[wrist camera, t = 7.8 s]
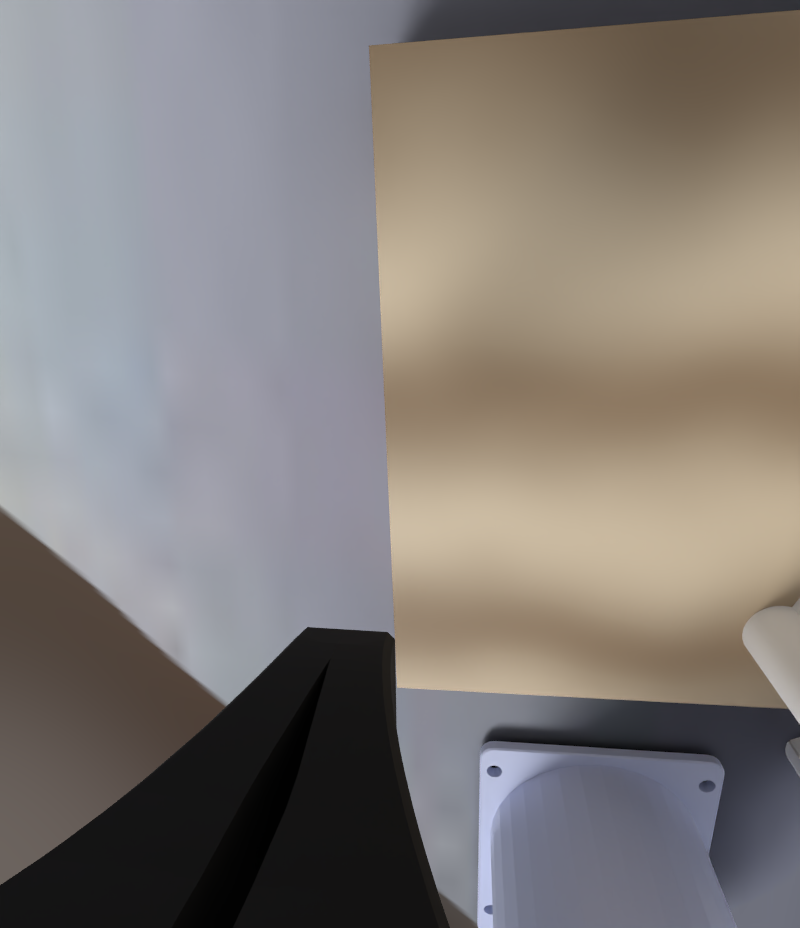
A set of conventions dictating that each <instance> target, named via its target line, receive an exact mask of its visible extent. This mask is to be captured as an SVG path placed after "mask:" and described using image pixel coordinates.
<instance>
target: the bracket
mask: <svg viewBox="0 0 800 928" xmlns="http://www.w3.org/2000/svg"><path fill="white" fill-rule="evenodd" d="M742 639H743V643H744V645H745V647H746V648H747V650H748V651H749V653H750V654H751V655H752V657H753V658H754V660H755V661H756V663H757V664H758V665H759V667H760V668H761V670H762V671H763V673H764V674H765V675H766V677H767V678H768V680H769V681H770V683H771V684H772V685H773V687H774V688H775V690H776V691H777V693H778V694H779V695H780V697H781V698H782V700H783V701H784V703H785V704H786V705H787V707H788V708H789V710H790V711H791V713H792V714H793V715H794V717H795V718H796V720H797V721H798V723H799V724H800V598H799V599H798V600H797V602H796V603H795V604H794V605H793V607H788V606H773V607H769V608H765V609H763V610H761V611H759V612H757V613H756V614H754V615H753V616H752V617H751V618H750V619H749V620H748V621H747V623H746V624H745V626H744V629H743V633H742ZM789 741H790V742H787V744H786V747H785V753H786V756H787V758H788V760H789V761H790V763H791V764H792V766H793V768H794V769H795V771H796V772H797V774H798V776H799V777H800V737H798V738H795V739H792V740H789Z"/></svg>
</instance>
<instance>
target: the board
mask: <svg viewBox="0 0 800 928" xmlns="http://www.w3.org/2000/svg"><path fill="white" fill-rule="evenodd" d="M369 54H370V77H371V100H372V123H373V145H374V168H375V191H376V214H377V237H378V260H379V283H380V306H381V328H382V351H383V374H384V397H385V420H386V443H387V466H388V489H389V512H390V534H391V557H392V580H393V603H394V626H395V649H396V672H397V688H414V689H433V690H451V691H469V692H488V693H506V694H525V695H543V696H561V697H580V698H598V699H617V700H635V701H653V702H672V703H690V704H709V705H727V706H745V707H764V708H782V709H789V708H788V707H787V705H786V704H785V703H784V701H783V700H782V698H781V697H780V695H779V694H778V693H777V691H776V690H775V688H774V687H773V685H772V684H771V683H770V681H769V680H768V678H767V677H766V675H765V674H764V673H763V671H762V670H761V668H760V667H759V665H758V664H757V663H756V661H755V660H754V658H753V657H752V655H751V654H750V653H749V651H748V650H747V648H746V647H745V645H744V643H743V639H742V633H743V629H744V626H745V624H746V623H747V621H748V620H749V619H750V618H751V617H752V616H753V615H754V614H756V613H757V612H759V611H761V610H763V609H765V608H769V607H773V606H788V607H793V605H794V604H795V603H796V602H797V600H798V599H799V598H800V10H792V11H780V12H768V13H756V14H744V15H732V16H720V17H708V18H696V19H684V20H672V21H660V22H648V23H636V24H624V25H612V26H599V27H587V28H575V29H563V30H551V31H539V32H527V33H515V34H503V35H491V36H479V37H467V38H455V39H443V40H431V41H419V42H407V43H394V44H382V45H370V46H369Z"/></svg>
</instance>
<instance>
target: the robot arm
mask: <svg viewBox="0 0 800 928" xmlns="http://www.w3.org/2000/svg"><path fill="white" fill-rule="evenodd" d="M494 765H495V766H498V767H497V768H492V767H490V766H494ZM724 776H725V772H724V769H723V767H722V765H721V763H720V761H719V760H718V759H717V758H716V757H714V756H711V755H704V754H688V753H673V752H657V751H642V750H626V749H611V748H595V747H580V746H564V745H548V744H533V743H517V742H502V741H489V742H487V743H485V744H484V745H483V746H482V747H481V749H480V783H479V849H478V916H477V918H478V928H737V926H736V924H735V921H734V919H733V916H732V914H731V911H730V909H729V906H728V904H727V901H726V899H725V896H724V894H723V891H722V889H721V886H720V884H719V881H718V879H717V876H716V874H715V871H714V868H713V866H712V863H711V861H710V858H709V851H710V846H711V841H712V836H713V831H714V826H715V821H716V816H717V811H718V806H719V801H720V796H721V791H722V786H723V781H724ZM707 780H708V781H707ZM703 781H707V782H703ZM0 928H450V927H449V924H448V921H447V918H446V915H445V912H444V909H443V906H442V904H441V900H440V897H439V894H438V891H437V888H436V885H435V882H434V878H433V875H432V872H431V869H430V865H429V862H428V859H427V856H426V852H425V849H424V846H423V842H422V839H421V835H420V832H419V828H418V824H417V820H416V817H415V813H414V809H413V805H412V801H411V797H410V793H409V789H408V784H407V780H406V776H405V772H404V767H403V762H402V757H401V753H400V747H399V741H398V735H397V729H396V677H395V639H394V638H393V637H392V636H391V635H390V634H389V633H388V632H376V631H360V630H344V629H327V628H311V627H307V628H306V629H305V630H304V631H303V632H302V633H301V634H300V635H299V636H298V637H297V638H295V639H294V640H293V641H292V642H291V643H290V644H289V645H288V646H287V647H286V648H285V649H284V650H283V652H282V653H281V654H280V655H279V656H278V657H277V658H276V659H275V660H274V661H273V662H272V663H271V664H270V665H269V666H268V667H267V668H266V669H265V670H264V671H263V672H262V673H261V674H260V675H259V676H258V677H257V678H256V679H255V680H254V681H253V682H252V683H251V684H250V685H248V686H247V687H246V688H245V689H244V690H243V691H242V692H241V693H240V694H239V695H238V696H237V697H236V698H235V699H234V700H233V701H232V702H231V703H230V704H229V705H227V706H226V707H225V709H223V710H222V711H221V712H220V713H219V714H218V715H217V716H216V717H215V718H214V719H213V720H212V721H211V722H210V723H209V724H208V725H206V726H205V727H204V728H203V729H202V730H201V731H200V732H199V733H197V734H196V735H195V736H194V737H193V738H192V739H191V740H189V741H188V742H187V743H186V744H185V745H184V746H182V747H181V748H180V749H179V750H178V751H177V752H176V753H174V754H173V755H172V756H171V757H170V758H169V759H168V760H166V761H165V762H164V763H163V764H162V765H161V766H159V767H158V768H157V769H156V770H155V771H154V772H153V773H151V774H150V775H149V776H148V777H147V778H145V779H144V780H143V781H142V782H140V783H139V784H138V785H137V786H136V787H134V788H133V789H132V790H131V791H129V792H128V793H127V794H126V795H124V796H123V797H122V798H121V799H120V800H118V801H117V802H116V803H114V804H113V805H112V806H111V807H109V808H108V809H107V810H106V811H104V812H103V813H102V814H100V815H99V816H98V817H96V818H95V819H93V820H92V821H91V822H89V823H88V824H87V825H86V826H84V827H83V828H81V829H80V830H79V831H77V832H76V833H75V834H74V835H72V836H71V837H70V838H68V839H67V840H65V841H64V842H63V843H61V844H60V845H58V846H57V847H56V848H54V849H53V850H52V851H50V852H49V853H47V854H46V855H45V856H43V857H42V858H40V859H39V860H37V861H36V862H34V863H33V864H31V865H30V866H28V867H27V868H25V869H24V870H22V871H21V872H19V873H18V874H16V875H15V876H13V877H12V878H10V879H9V880H7V881H6V882H4V883H3V884H1V885H0Z"/></svg>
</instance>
